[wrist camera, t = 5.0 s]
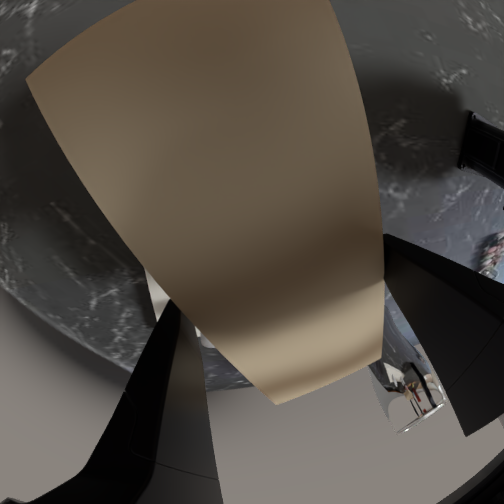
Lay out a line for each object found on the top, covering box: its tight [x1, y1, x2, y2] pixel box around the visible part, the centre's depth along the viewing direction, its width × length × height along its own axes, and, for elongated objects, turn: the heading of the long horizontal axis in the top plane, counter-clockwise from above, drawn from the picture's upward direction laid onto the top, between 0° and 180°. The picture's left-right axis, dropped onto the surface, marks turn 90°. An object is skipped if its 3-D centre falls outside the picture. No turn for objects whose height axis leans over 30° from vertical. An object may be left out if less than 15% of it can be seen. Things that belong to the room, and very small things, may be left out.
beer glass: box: [367, 305, 449, 435], centre depth 26 cm, size 7×7×15 cm
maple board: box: [25, 0, 384, 405], centre depth 9 cm, size 16×6×2 cm, turn 21°
